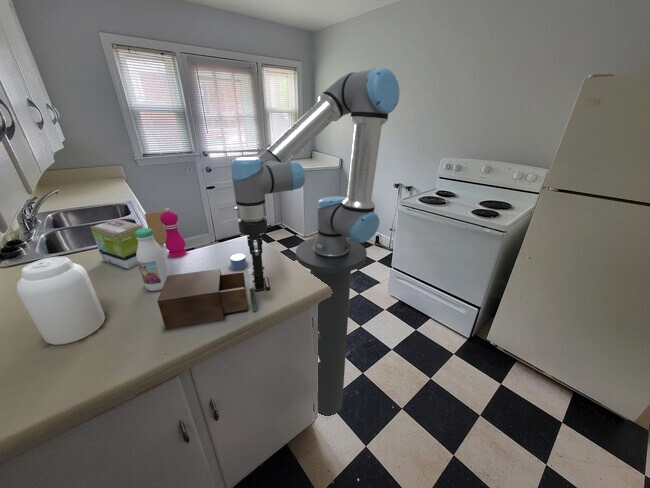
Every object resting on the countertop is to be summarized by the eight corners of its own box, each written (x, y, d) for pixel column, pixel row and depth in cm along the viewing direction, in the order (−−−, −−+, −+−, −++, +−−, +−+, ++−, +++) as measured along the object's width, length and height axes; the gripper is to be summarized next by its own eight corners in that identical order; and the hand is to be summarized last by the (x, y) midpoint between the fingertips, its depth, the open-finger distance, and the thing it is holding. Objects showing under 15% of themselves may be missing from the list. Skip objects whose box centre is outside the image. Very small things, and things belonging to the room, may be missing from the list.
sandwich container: (169, 231, 134) (162, 201, 128) (175, 241, 123) (167, 210, 116) (149, 234, 129) (141, 204, 123) (153, 246, 118) (144, 213, 112)
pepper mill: (163, 257, 109) (151, 209, 101) (177, 249, 116) (166, 204, 107) (178, 259, 108) (167, 211, 99) (191, 251, 114) (181, 206, 105)
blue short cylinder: (246, 261, 107) (245, 252, 105) (246, 268, 102) (245, 259, 100) (231, 263, 105) (230, 254, 103) (231, 270, 100) (229, 261, 99)
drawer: (268, 286, 90) (266, 266, 86) (272, 307, 80) (271, 285, 77) (209, 295, 85) (205, 274, 81) (206, 318, 75) (201, 295, 72)
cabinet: (224, 294, 87) (220, 268, 83) (223, 320, 76) (218, 291, 72) (174, 302, 83) (167, 275, 79) (165, 330, 72) (156, 301, 68)
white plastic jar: (30, 345, 67) (-12, 276, 58) (75, 312, 78) (46, 250, 69) (79, 347, 66) (44, 278, 58) (117, 314, 77) (92, 252, 69)
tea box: (101, 261, 105) (88, 226, 99) (127, 251, 113) (116, 218, 107) (127, 269, 100) (115, 232, 94) (152, 258, 108) (142, 223, 102)
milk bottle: (162, 276, 96) (147, 224, 87) (177, 282, 93) (163, 228, 84) (140, 287, 89) (122, 232, 81) (155, 294, 86) (138, 237, 78)
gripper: (237, 211, 77) (246, 280, 87) (238, 227, 66) (248, 305, 76) (264, 209, 79) (269, 277, 89) (269, 224, 68) (275, 300, 78)
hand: (260, 290), depth 83 cm, fingers closed
